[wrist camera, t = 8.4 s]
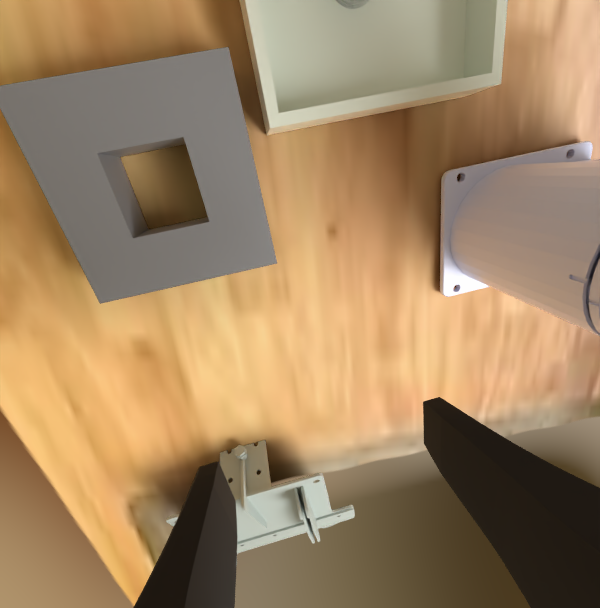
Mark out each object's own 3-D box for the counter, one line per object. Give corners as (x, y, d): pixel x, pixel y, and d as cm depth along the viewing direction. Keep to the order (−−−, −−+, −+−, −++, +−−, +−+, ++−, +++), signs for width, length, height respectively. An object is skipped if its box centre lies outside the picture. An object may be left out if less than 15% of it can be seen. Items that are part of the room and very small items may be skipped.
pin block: (231, 67, 14) (228, 46, 12) (273, 252, 18) (277, 263, 16) (32, 102, 13) (-11, 87, 11) (119, 286, 17) (100, 303, 15)
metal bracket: (121, 561, 18) (359, 490, 19) (140, 462, 22) (332, 409, 23) (204, 589, 27) (360, 541, 28) (206, 516, 32) (341, 476, 33)
